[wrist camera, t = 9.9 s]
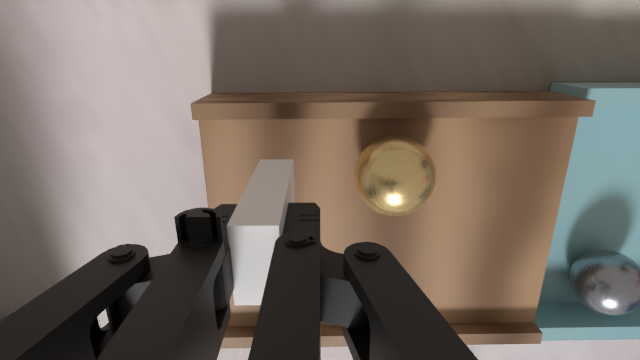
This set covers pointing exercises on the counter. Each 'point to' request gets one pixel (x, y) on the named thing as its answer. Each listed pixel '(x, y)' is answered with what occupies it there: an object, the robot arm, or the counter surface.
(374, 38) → the counter surface
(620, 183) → the tray
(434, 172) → the brass ball
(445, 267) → the walnut runway
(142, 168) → the counter surface
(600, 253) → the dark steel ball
